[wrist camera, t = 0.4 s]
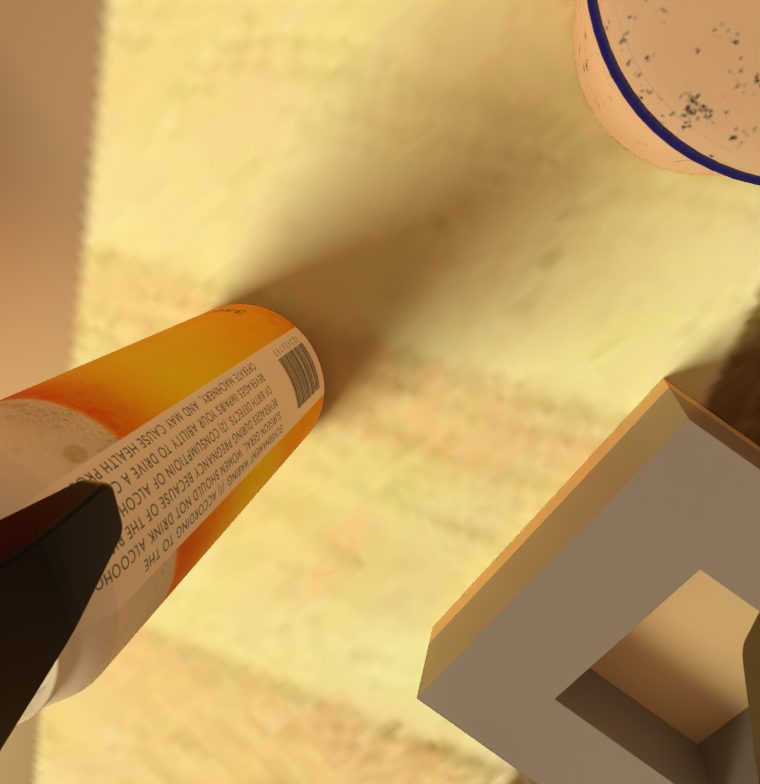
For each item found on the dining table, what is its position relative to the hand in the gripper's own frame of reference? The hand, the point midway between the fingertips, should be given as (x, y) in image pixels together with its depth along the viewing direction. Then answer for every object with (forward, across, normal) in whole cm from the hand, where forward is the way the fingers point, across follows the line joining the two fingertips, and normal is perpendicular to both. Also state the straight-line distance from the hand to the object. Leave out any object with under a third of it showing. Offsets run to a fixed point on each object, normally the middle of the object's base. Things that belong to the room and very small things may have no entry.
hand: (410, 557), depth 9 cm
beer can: (+14, +8, +7) cm, 18 cm away
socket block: (+12, -9, +14) cm, 21 cm away
